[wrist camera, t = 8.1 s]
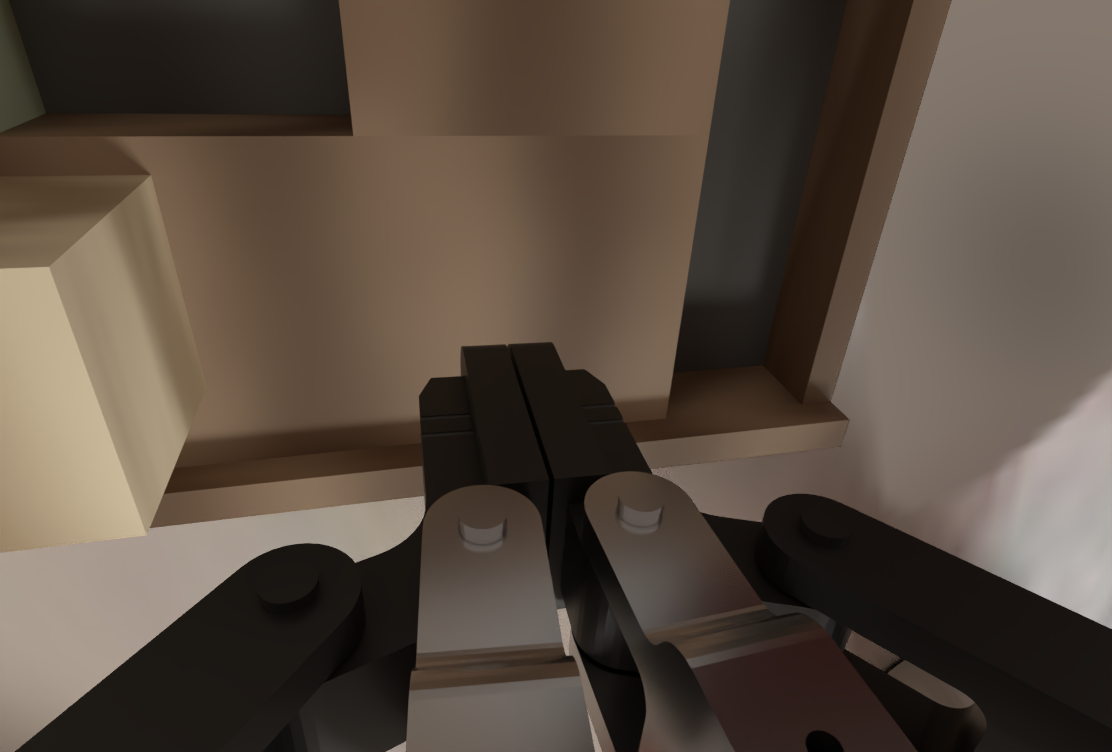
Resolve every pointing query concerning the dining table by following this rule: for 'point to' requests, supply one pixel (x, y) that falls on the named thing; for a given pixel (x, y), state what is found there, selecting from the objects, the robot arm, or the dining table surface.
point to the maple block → (89, 360)
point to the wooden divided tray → (484, 208)
